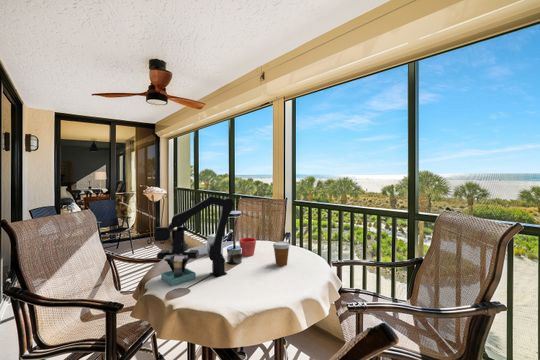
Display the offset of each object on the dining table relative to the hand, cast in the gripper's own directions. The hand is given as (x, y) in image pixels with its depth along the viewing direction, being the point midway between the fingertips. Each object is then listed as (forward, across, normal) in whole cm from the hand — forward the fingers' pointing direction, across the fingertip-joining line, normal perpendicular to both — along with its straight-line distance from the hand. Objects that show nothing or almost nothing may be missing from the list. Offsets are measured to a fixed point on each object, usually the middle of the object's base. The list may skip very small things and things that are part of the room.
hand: (178, 271), depth 121 cm
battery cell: (+2, 0, 0) cm, 2 cm away
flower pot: (+4, -31, -38) cm, 49 cm away
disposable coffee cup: (+4, -52, -19) cm, 55 cm away
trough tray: (+4, 0, 0) cm, 4 cm away
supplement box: (+4, -10, -40) cm, 41 cm away
